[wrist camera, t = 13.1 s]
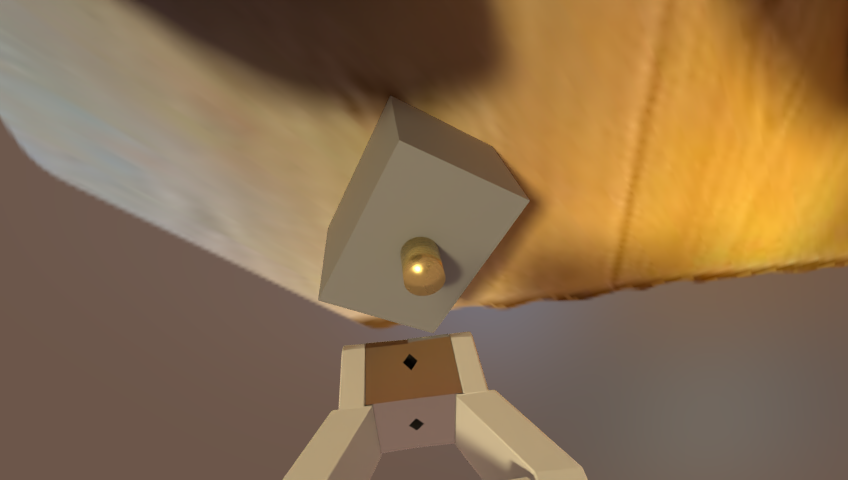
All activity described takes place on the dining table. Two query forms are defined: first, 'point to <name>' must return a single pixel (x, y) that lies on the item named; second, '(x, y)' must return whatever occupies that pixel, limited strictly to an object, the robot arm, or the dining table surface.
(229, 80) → the dining table surface
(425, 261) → the brass dial
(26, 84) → the dining table surface
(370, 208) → the grey cabinet
